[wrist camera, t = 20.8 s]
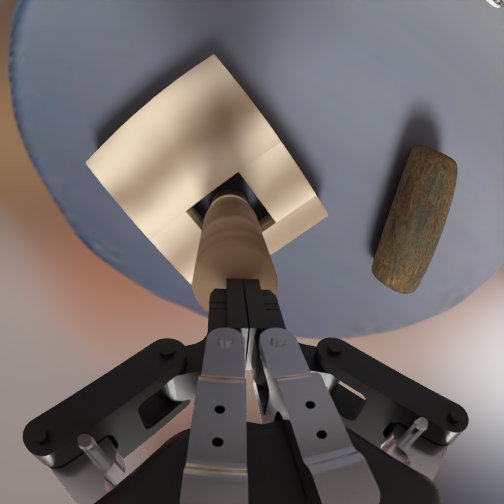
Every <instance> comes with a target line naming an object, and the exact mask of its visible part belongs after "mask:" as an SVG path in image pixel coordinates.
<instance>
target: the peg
mask: <svg viewBox="0 0 504 504" xmlns="http://www.w3.org/2000/svg"><path fill="white" fill-rule="evenodd" d="M226 278H242V281H243V279H259V281H260V286H261V290H271V291H272V292H273V293H274V294H276V291H277V285H278V280H277V275H276V271H275V268H274V265H273V262H272V260H271V257H270V254H269V251H268V248H267V245H266V242H265V239H264V237H263V234H262V231H261V228H260V225H259V222H258V220H257V217H256V214H255V212H254V210H253V209H252V208H251V207H250V205H249V204H248V201H247V199H246V197H245V195H244V194H243V193H242V192H240V191H238V190H236V189H232V188H227V189H223V190H221V191H219V192H217V193H216V194H215V195H214V197H213V198H212V200H211V204H210V208H209V209H208V211H207V212H206V214H205V217H204V222H203V227H202V232H201V237H200V242H199V247H198V252H197V257H196V263H195V268H194V274H193V280H192V288H193V293H194V296H195V298H196V300H197V302H198V303H199V304H200V305H201V307H202V308H203V309H205V310H206V311H207V312H209V299H210V294H211V292H212V291H213V290H214V289H215V288H219V289H226Z"/></svg>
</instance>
